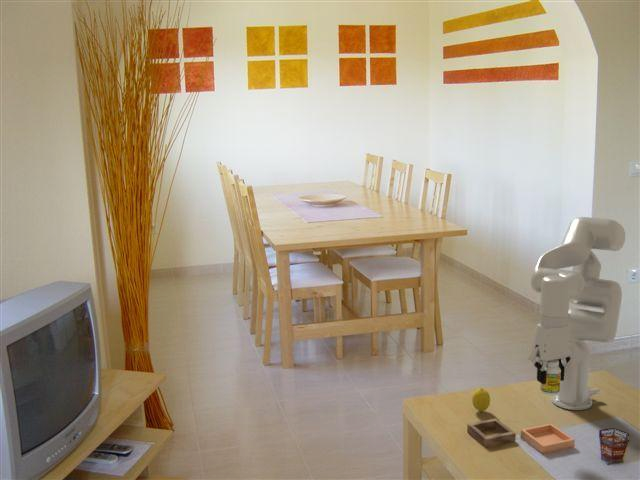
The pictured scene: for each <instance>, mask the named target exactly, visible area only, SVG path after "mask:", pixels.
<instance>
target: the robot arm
mask: <svg viewBox="0 0 640 480" xmlns="http://www.w3.org/2000/svg"><path fill="white" fill-rule="evenodd" d="M625 242H626V233H625V229H624V227H623V226H622V224H621V223H619V222H618V221H616V220H614V219H611V218H604V217H603V218H601V217H588V216H586V217H585V216H580V217H576V218H574V219H573V220H572V221H571V222H570V223H569V225H568V227H567V230H566V232H565V235H564V237H563V240H562V242H561V244H560V245H558V246H556V247H554V248H551V249H550V250H548V251H547V252H545V253H543V254H542V255H540V257H539V258H538V260H537V262H536V264H535V266H534V269H533V271H532V273H531V277H530V285H531V288H532V290H533V291H534V292H536V293H538V294H540V304H539V305H540V306H539V323H537V324H536V326H535V329H534V333H533V338H532V339H533V340H532V347H531V348H532V349H531V353H530V355H529V356H528V357H527V360H528V362H530V363H531V364H532V365H533V366H534V367H535V368H536V381H537V382H539V383H540V384H541V383H542V384H545V383H546V371H545V367H546V364H547V361H551V360H557V359H558V360H559V366H558V367H560V369H561V379H560V392H559V393H558V394H557V395H550V396H551V400H550V401H551V402H552V403H553V404H554V405H556V406H557V407H560V408H561V409H566V410H570V411H583V410H584V411H585V410H588V409H590V408H591V407H592V406H593V400H592V398H591V397H593V395H598V394H600V392H601V390H600V389H599V387H595V388H591V387H590V386H589V381H590V380H589V379H590V366H591V351H590V347H589V346H588V344H587V342H592V343H598V344H604V345H605V344H606V345H607V344H611V343H612V342H614V341H615V338H616V335H617V331H618V326H619V325H618V324H619V318H620V312H621V307H622V306H621V305H622V304H621V303H622V299H623V298H622V297H623V293H622V292H623V291H622V287H621V285H620V284H619V283H618V282H617V281H614V280H611V279H605V278H604V279H603V278H600V275H601V270H602V265H601V262H600V260H599V258H598V257H597V255H596V254H595V253H594V252H593V250H598V251H599V250H601V251H611V252H617V251H620V250H621V249H622V248H624V245H625ZM592 249H593V250H592ZM571 267H572V269H571V270H566V269H565V268H571ZM570 304H572V305H575V306H579V307H584V308H590V309H598V310H602V311H603V312H600V311H596V310H595V311H594V310H589V309H583V308H582V309H581V308H575V307H572V308H571V307H570Z"/></svg>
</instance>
